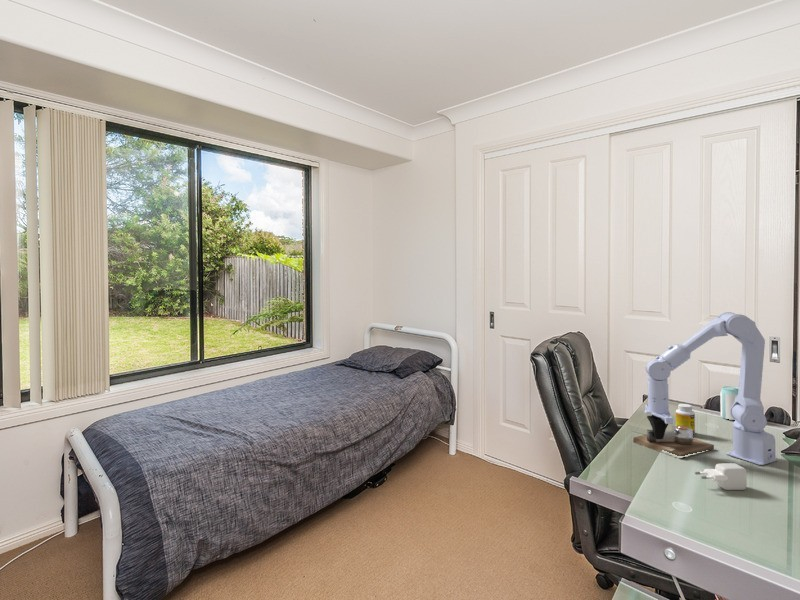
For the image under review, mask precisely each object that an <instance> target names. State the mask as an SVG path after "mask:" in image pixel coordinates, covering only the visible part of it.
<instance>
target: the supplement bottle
mask: <svg viewBox="0 0 800 600" xmlns="http://www.w3.org/2000/svg"><path fill="white" fill-rule="evenodd" d="M677 406H678V407H677V408H678V409H676V410H675V426H677V425H683V426H687V427H689V428H691V429H693V434H694V435H695V433H696V432H695V431H696V422H695V421H696V417H695V412H694V411H693V405H691V404H688V403H679V404H678V405H677Z"/></svg>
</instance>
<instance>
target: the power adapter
mask: <svg viewBox="0 0 800 600" xmlns="http://www.w3.org/2000/svg"><path fill="white" fill-rule="evenodd" d="M694 475H696V476H697V475H699V476H700V475H701V476H700V478H701V480H711V481H713V482H714V483H715V484H716V485H717V486H718V485H719V486H718V487H720V488H721V489H723V490H725V491H743V490H746V489H747V485H748V483H747V482H748V481H747V470H746V468H745V467H743V466H741V465H740V464H737V463H735V462H733V463H730V462H728V463H727V462H726V463H716V464H715V467H714V468H704V470H703V471H695V472H694Z"/></svg>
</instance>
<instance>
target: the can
mask: <svg viewBox="0 0 800 600" xmlns="http://www.w3.org/2000/svg"><path fill="white" fill-rule="evenodd" d="M738 391H739V387H737V386H722V387H721V390H720V392H719V394H720V396H719V397H720V398H719V399H720V402H719V403H720V404H719V407H720V417H721V418H723V419H724V418H725V419H724V420H726V419H729V420H728V421H730V420H735V419H734V418H733V417H732V416H731V414H730V409H731V407H732V406H733V404H734V402H735V397H736V396H737V395H738Z"/></svg>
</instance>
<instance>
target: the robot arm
mask: <svg viewBox="0 0 800 600" xmlns="http://www.w3.org/2000/svg"><path fill="white" fill-rule="evenodd" d="M729 335H731V336H732V337H734V339H736V341H738V342H739V343H740V344H741V355H740V356H741V357H740V367H739V369H740V370H739V379H738V380H739V381H738V388H739V391H738V395H737V396H736V397H735V402H734V404H733V406H732V407H731V409H730V414H731V416H732V417H733V418H734V419H735V421H733V423H732V448H733V449H732V450H731V451H728V452H727V451H726V453H725V454H726V455H727V456H731V457H734V458H737V459H740V460H744V461H746V462H750V463H752V464H755V465H759V466H764V465H767V464H771V463H774V462H776V461H778V458H777V457H776V456H777V455H776V439H775V436H774V435H773V434H772V433H769V432H767V431H765V430H764V429H765V428H766V427H767V422H768V421H767V417H766V415H765V413H764V410H765V408H764V405H763V402H762V399H761V395H762V394H761V393H762V383H763V372H764V371H763V370H764V359H765V358H764V357H765V346H766V339H765V337H764V336H763V335H762V333H761V331H760V330H759V329H758V326H757V325H756V322H755V321H754V320H752V319H751V318H750V317H748V316H746V315H743V314H739V313H735V312H731V311H730V312H729V311H726V312H723V313H721V314H719V315H718V316H717V317H714V318H713V319H712V320H710V321H709V322H708V323H707V324H706V325H704V326H703V327H702V328H700V329H699V330H698V331H697V332H696V333H695V334H693V335H692V336H691V337H689V338H688V339H687V340H685V341H684V342H683V343H682V344H673V345H672V344H671V345H668V346H667V350H666V351H664V352H663V353H662V354H660V355H656V356H655V359H651V360H650V361H648V362H647V364H646V367H645V371H646V373H647V374H648V375H647V404H645V406H644V407H645V409H644V413H645V414H647V416H646V417H647V420H648V421H649V423H650V425H651V426H650V427H651V430H653V433H654V437H655V439H663V437H664V434H665V430H667V428H668V426H669V425H674V417H672V415H671V413H670V406H669V403H670V402H669V383H668V382H669V381H668V378H669V377H670V376H671V373H672V372H673V371H675V370H676V369H677V368H679V367H680V366H682V365H683V364H684V363H685V362H687V361H688V360H690V359H691V353H692V352H693V351H695V350H698V348H700V347H701V346H703V345H704V344H706V343H707V342H709V341H710V340H712V339H714V338H718V337H728V336H729ZM648 414H649V415H648Z"/></svg>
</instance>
